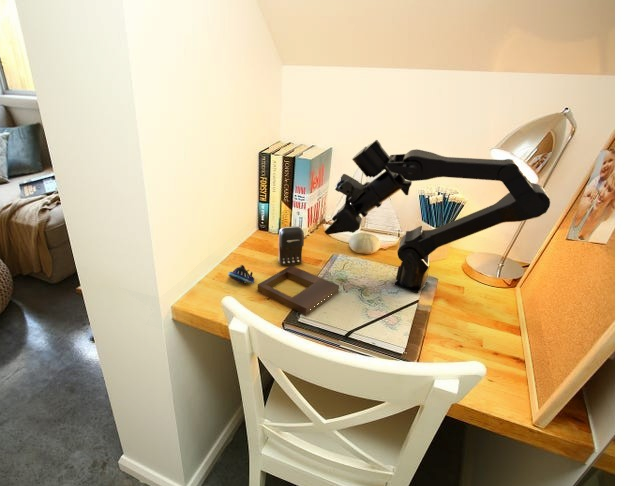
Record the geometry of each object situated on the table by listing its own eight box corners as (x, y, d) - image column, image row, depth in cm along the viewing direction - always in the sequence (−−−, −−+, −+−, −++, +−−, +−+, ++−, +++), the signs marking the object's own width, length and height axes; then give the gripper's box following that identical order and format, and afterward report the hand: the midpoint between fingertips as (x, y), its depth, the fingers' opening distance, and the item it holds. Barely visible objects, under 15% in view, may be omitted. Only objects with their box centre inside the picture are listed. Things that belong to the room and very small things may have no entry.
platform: (338, 292, 104) (339, 285, 103) (305, 316, 96) (306, 308, 95) (290, 271, 114) (291, 265, 113) (257, 291, 106) (257, 284, 105)
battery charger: (280, 268, 116) (281, 232, 110) (277, 261, 119) (278, 226, 113) (303, 266, 117) (305, 230, 110) (300, 259, 120) (302, 224, 114)
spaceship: (256, 273, 113) (255, 260, 109) (253, 289, 108) (252, 276, 105) (231, 272, 114) (229, 259, 111) (227, 287, 110) (224, 274, 106)
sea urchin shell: (378, 253, 117) (361, 232, 117) (357, 265, 123) (341, 245, 123) (386, 241, 124) (371, 221, 124) (366, 253, 130) (351, 234, 129)
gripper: (363, 155, 104) (318, 192, 113) (350, 176, 89) (300, 216, 99) (390, 188, 105) (343, 221, 115) (381, 214, 91) (329, 249, 100)
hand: (329, 226), depth 107 cm, fingers open, 9 cm apart
